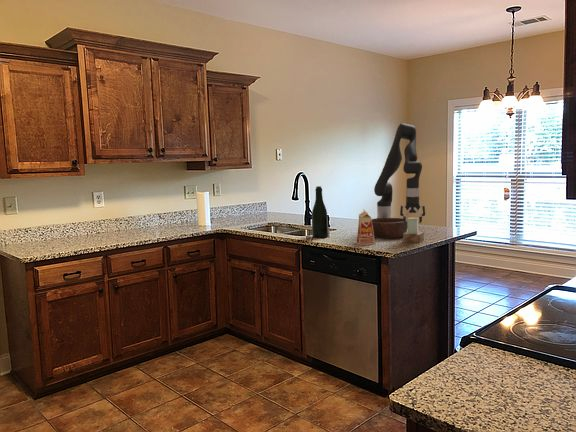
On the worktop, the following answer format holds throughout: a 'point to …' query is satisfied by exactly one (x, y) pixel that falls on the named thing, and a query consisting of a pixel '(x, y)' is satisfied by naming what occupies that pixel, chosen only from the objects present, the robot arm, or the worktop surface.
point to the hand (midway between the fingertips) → (412, 222)
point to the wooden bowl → (389, 227)
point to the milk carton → (365, 230)
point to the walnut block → (413, 237)
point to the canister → (412, 225)
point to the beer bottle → (319, 216)
